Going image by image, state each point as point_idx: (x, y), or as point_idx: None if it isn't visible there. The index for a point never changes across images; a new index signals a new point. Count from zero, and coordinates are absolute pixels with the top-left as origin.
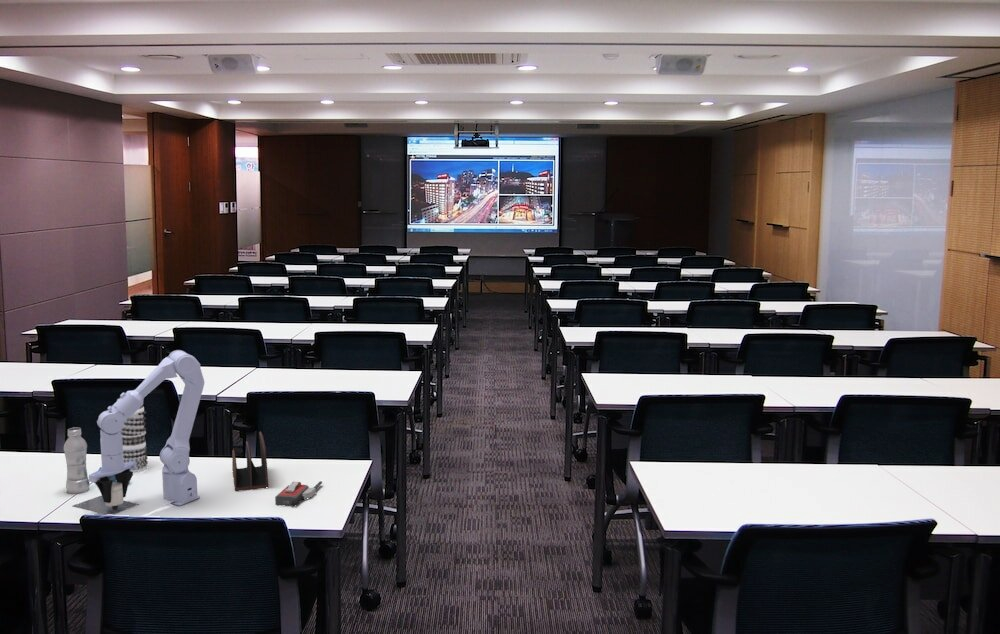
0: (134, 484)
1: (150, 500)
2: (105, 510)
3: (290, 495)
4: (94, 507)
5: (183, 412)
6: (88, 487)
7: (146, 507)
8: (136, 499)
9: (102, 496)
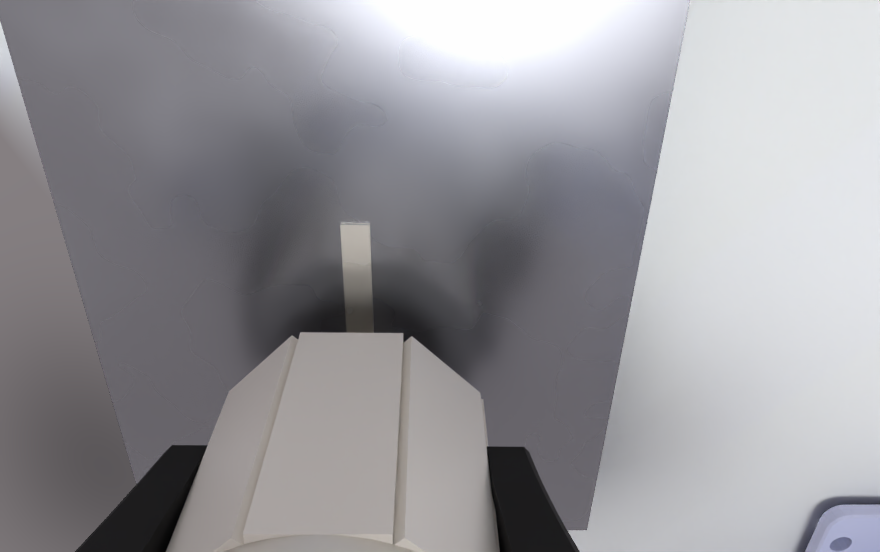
0: None
1: (837, 431)
2: (208, 378)
3: None
4: (179, 138)
5: None
6: None
7: (611, 536)
8: (843, 268)
9: (111, 520)
